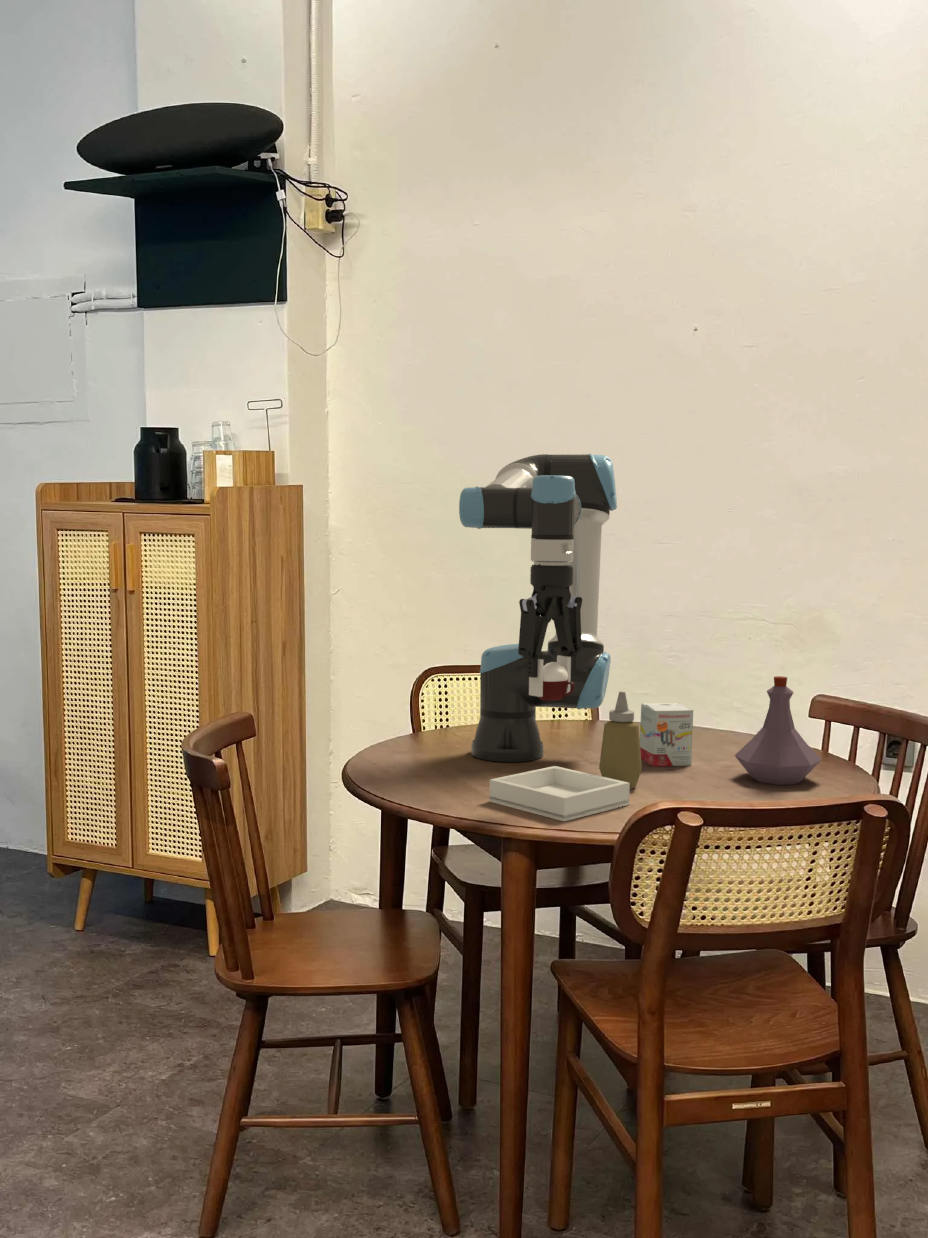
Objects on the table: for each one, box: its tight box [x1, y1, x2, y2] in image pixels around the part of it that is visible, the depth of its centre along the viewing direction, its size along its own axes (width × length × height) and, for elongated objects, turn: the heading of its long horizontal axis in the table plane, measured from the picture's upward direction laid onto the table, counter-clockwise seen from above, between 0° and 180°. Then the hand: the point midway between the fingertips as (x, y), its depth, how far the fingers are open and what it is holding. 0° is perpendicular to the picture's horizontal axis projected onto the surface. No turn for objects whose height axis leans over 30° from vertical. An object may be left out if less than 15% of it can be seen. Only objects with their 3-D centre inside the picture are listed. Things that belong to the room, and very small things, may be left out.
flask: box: [734, 675, 822, 786], centre depth 241 cm, size 16×16×20 cm
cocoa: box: [533, 650, 575, 701], centre depth 221 cm, size 10×6×12 cm, turn 36°
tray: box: [489, 765, 630, 822], centre depth 222 cm, size 17×18×4 cm
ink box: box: [639, 702, 694, 768], centre depth 257 cm, size 9×9×12 cm
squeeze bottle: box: [598, 691, 643, 790], centre depth 234 cm, size 8×8×18 cm
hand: (549, 693), depth 221 cm, fingers closed on cocoa, 6 cm apart
